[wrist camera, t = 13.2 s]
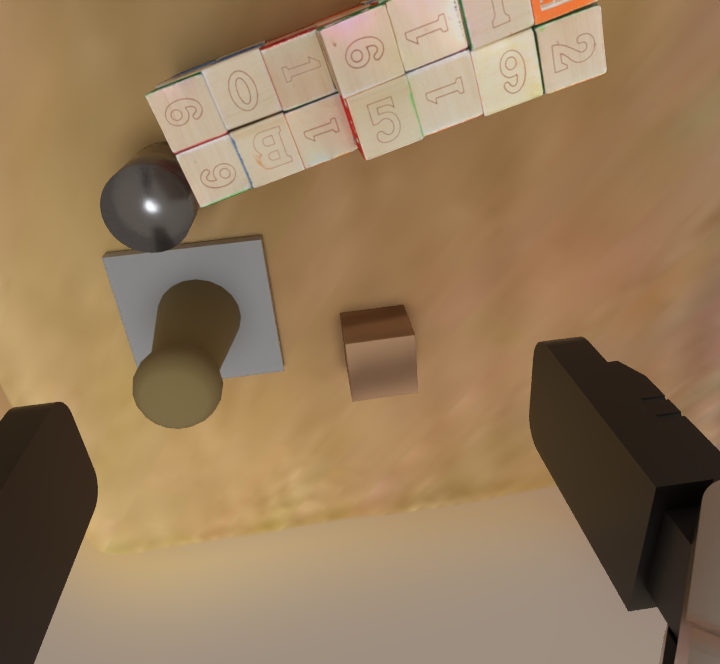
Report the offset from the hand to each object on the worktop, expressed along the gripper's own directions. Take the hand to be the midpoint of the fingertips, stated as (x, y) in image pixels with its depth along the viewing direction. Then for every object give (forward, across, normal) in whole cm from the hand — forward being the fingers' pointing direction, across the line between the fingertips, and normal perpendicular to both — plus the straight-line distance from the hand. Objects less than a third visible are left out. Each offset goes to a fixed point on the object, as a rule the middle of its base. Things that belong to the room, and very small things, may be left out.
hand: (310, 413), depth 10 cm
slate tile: (+32, +9, +13) cm, 36 cm away
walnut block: (+32, -4, +17) cm, 37 cm away
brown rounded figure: (+31, +9, +13) cm, 35 cm away
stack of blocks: (+32, -4, -3) cm, 33 cm away
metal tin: (+32, +9, +3) cm, 33 cm away
